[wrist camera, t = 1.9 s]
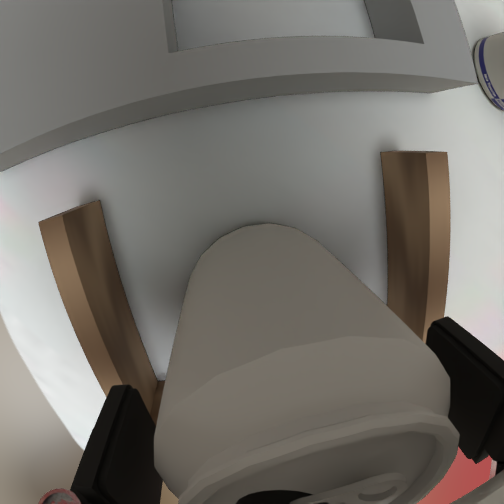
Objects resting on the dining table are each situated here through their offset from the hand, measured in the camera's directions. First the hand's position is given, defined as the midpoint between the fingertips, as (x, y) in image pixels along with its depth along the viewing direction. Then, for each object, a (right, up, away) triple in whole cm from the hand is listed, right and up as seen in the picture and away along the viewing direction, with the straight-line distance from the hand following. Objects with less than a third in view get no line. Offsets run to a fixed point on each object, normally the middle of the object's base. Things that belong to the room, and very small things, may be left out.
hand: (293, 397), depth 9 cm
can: (-1, +2, +7) cm, 8 cm away
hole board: (-4, +17, +2) cm, 18 cm away
